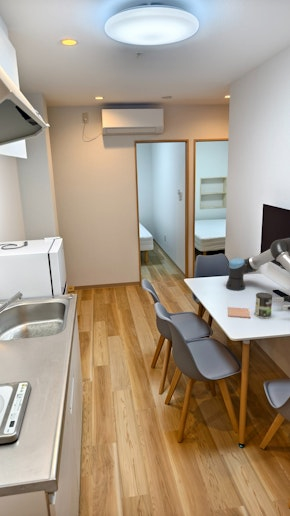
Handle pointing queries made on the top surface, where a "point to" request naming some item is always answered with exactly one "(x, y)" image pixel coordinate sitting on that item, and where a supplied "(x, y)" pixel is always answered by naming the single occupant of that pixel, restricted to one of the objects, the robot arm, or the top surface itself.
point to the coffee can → (263, 305)
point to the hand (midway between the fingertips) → (278, 303)
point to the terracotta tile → (238, 312)
